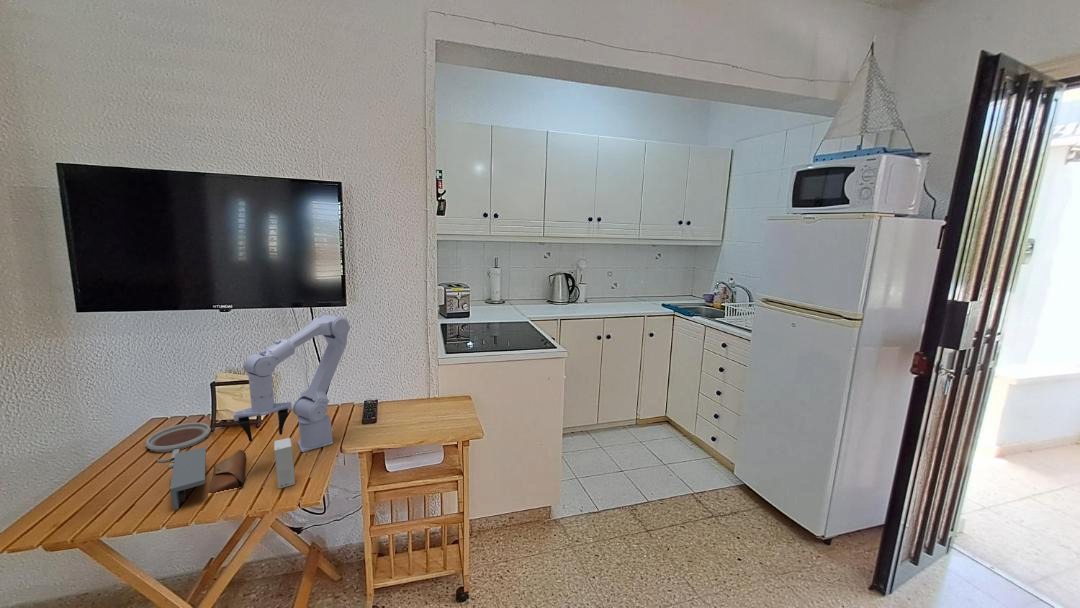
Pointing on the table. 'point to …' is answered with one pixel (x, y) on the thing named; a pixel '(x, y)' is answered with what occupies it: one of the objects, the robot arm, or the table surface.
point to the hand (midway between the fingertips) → (265, 436)
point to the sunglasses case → (229, 473)
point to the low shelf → (187, 473)
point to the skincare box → (284, 462)
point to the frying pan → (177, 439)
